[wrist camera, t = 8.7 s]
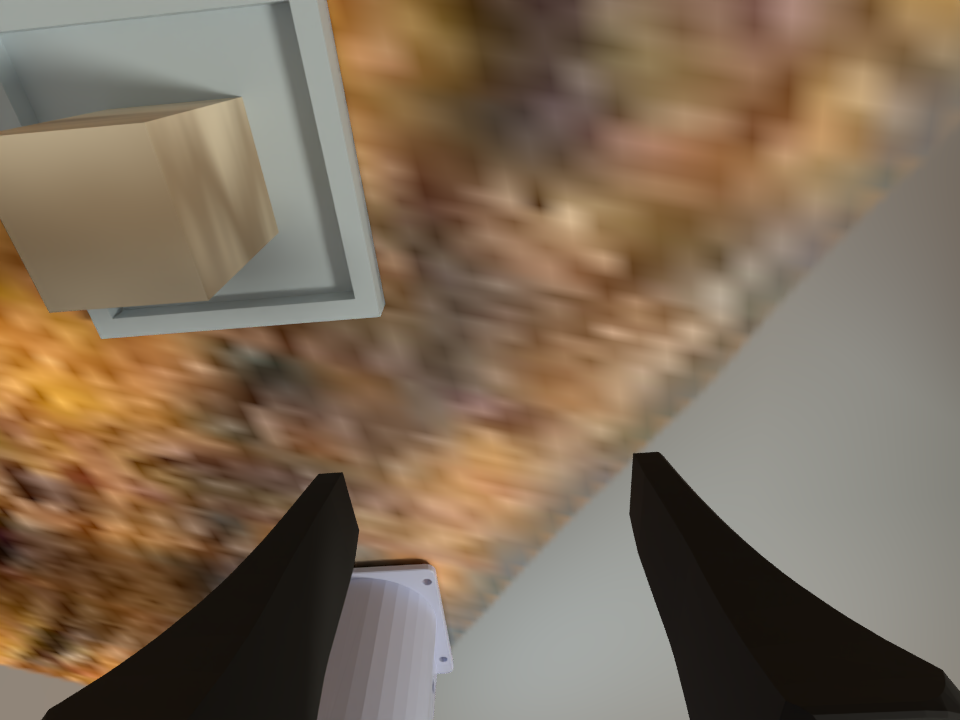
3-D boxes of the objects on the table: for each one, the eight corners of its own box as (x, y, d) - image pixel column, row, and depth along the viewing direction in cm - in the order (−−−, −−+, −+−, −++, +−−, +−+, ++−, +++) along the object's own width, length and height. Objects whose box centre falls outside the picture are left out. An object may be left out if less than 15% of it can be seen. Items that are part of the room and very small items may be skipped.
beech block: (278, 232, 20) (208, 300, 15) (159, 242, 21) (49, 312, 15) (242, 97, 18) (144, 122, 13) (108, 109, 18) (-42, 139, 13)
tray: (385, 303, 22) (380, 316, 21) (118, 324, 23) (101, 338, 22) (320, -33, 17) (309, -37, 16) (-31, 6, 17) (-63, 5, 16)
